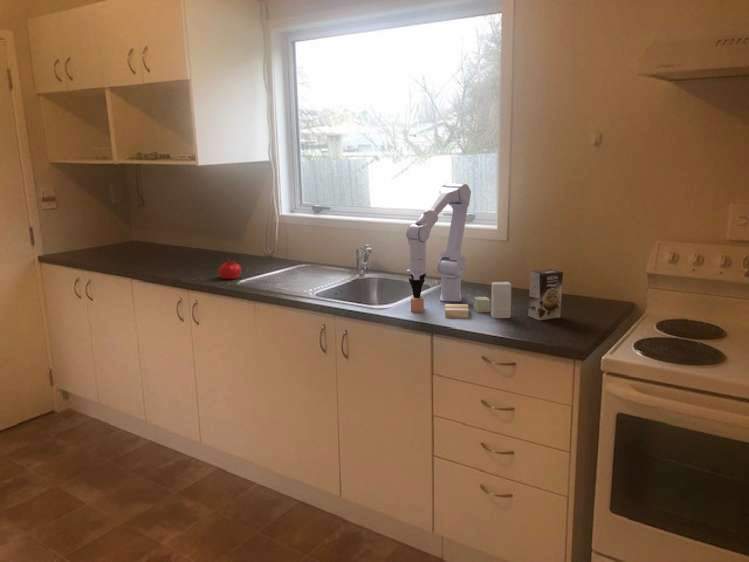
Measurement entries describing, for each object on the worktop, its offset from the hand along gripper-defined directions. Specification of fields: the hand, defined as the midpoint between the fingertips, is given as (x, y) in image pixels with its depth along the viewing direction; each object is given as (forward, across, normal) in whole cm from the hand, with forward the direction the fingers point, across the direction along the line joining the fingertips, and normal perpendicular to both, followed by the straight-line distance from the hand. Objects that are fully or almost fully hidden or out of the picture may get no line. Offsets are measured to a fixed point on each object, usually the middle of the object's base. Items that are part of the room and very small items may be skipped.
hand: (417, 295), depth 223 cm
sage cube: (+5, -1, +23) cm, 24 cm away
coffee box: (+6, +6, +44) cm, 45 cm away
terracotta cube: (+6, 0, 0) cm, 6 cm away
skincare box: (+6, +7, +29) cm, 30 cm away
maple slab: (+6, +5, +14) cm, 16 cm away
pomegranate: (+6, -47, -87) cm, 99 cm away
